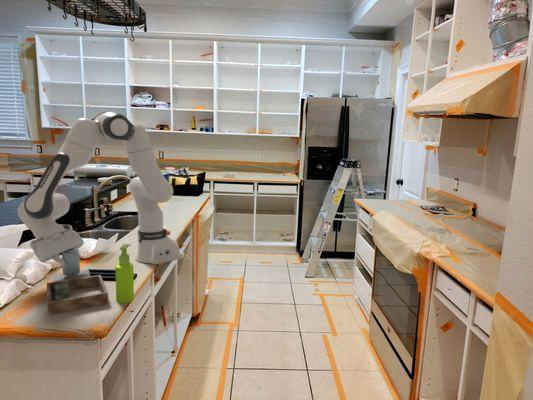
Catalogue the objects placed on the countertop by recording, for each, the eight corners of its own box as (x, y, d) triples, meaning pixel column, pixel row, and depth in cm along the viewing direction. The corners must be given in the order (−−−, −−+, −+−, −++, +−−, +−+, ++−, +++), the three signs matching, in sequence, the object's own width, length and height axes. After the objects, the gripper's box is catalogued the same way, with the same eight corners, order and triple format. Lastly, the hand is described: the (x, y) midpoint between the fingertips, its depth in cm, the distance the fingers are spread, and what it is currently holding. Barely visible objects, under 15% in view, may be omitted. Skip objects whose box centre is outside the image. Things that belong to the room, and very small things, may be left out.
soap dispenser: (137, 295, 133) (136, 243, 130) (130, 303, 126) (129, 249, 123) (121, 294, 133) (119, 242, 129) (113, 303, 126) (112, 248, 123)
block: (68, 293, 132) (67, 283, 131) (68, 297, 129) (68, 287, 128) (55, 295, 130) (55, 285, 129) (56, 299, 127) (55, 289, 126)
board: (88, 273, 151) (88, 269, 150) (91, 281, 143) (91, 277, 143) (52, 278, 144) (52, 275, 144) (53, 287, 136) (53, 283, 136)
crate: (101, 284, 141) (100, 274, 140) (108, 303, 126) (107, 292, 125) (47, 293, 131) (46, 282, 130) (48, 315, 116) (47, 303, 115)
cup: (79, 269, 147) (78, 248, 145) (80, 274, 142) (79, 252, 140) (62, 271, 144) (61, 250, 142) (63, 276, 139) (62, 254, 137)
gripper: (32, 237, 132) (56, 265, 131) (73, 224, 151) (94, 249, 151) (22, 247, 133) (46, 275, 133) (65, 233, 153) (85, 257, 153)
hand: (72, 261), depth 142 cm, fingers closed on cup, 6 cm apart
